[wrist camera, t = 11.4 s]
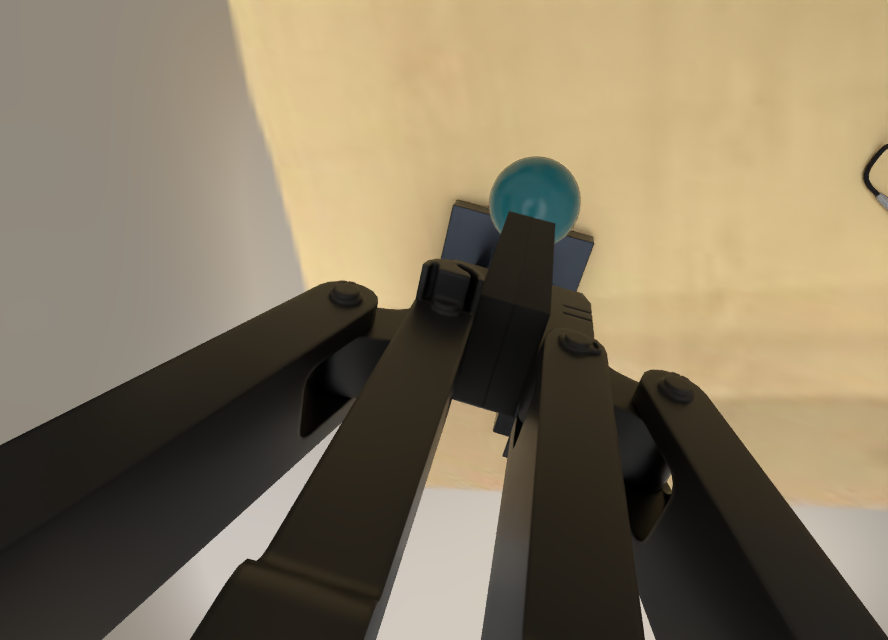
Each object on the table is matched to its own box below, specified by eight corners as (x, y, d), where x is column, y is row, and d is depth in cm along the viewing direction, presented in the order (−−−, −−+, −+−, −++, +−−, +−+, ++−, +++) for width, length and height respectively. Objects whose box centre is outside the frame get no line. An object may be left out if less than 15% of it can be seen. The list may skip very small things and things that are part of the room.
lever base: (456, 199, 38) (406, 267, 26) (593, 236, 38) (606, 324, 26) (424, 339, 44) (371, 448, 32) (542, 373, 43) (533, 499, 31)
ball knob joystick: (508, 129, 21) (490, 177, 19) (596, 152, 21) (589, 204, 19) (454, 357, 33) (438, 405, 30) (511, 374, 32) (500, 423, 30)
